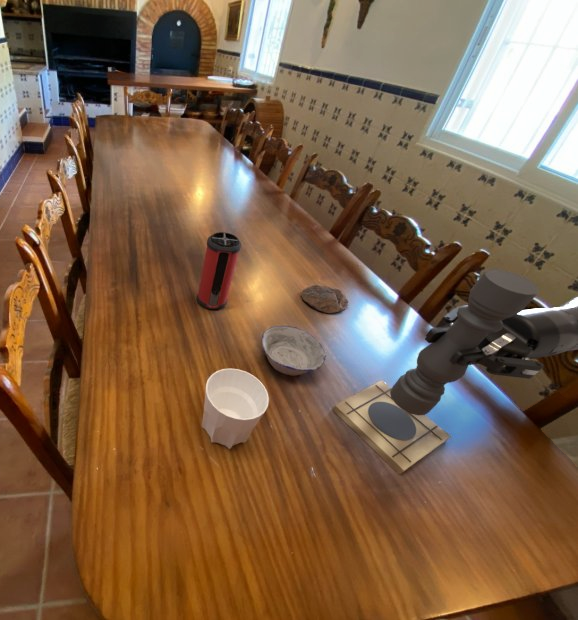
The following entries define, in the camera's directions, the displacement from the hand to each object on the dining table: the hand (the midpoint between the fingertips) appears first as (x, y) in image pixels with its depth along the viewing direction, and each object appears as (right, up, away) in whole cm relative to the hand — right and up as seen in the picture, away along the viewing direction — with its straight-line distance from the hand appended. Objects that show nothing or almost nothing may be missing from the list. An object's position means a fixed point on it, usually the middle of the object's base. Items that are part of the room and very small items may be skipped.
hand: (442, 347), depth 52 cm
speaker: (-27, +8, +39) cm, 49 cm away
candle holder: (+2, -10, +9) cm, 14 cm away
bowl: (-13, -6, +25) cm, 29 cm away
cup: (-29, -16, +11) cm, 35 cm away
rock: (+3, +8, +43) cm, 44 cm away
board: (+1, -16, +14) cm, 21 cm away
